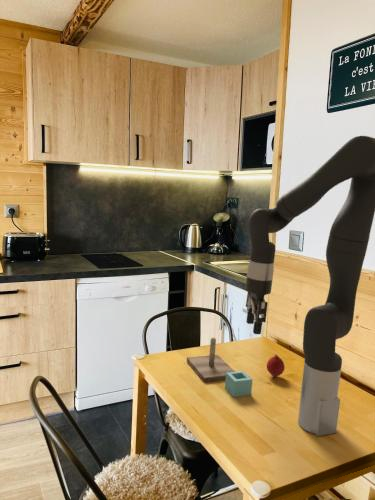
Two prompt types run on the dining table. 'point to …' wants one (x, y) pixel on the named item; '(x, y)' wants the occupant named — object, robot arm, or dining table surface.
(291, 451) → the dining table surface
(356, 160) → the robot arm
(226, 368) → the stand
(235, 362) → the dining table surface
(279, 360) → the onion
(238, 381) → the bead
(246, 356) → the dining table surface
